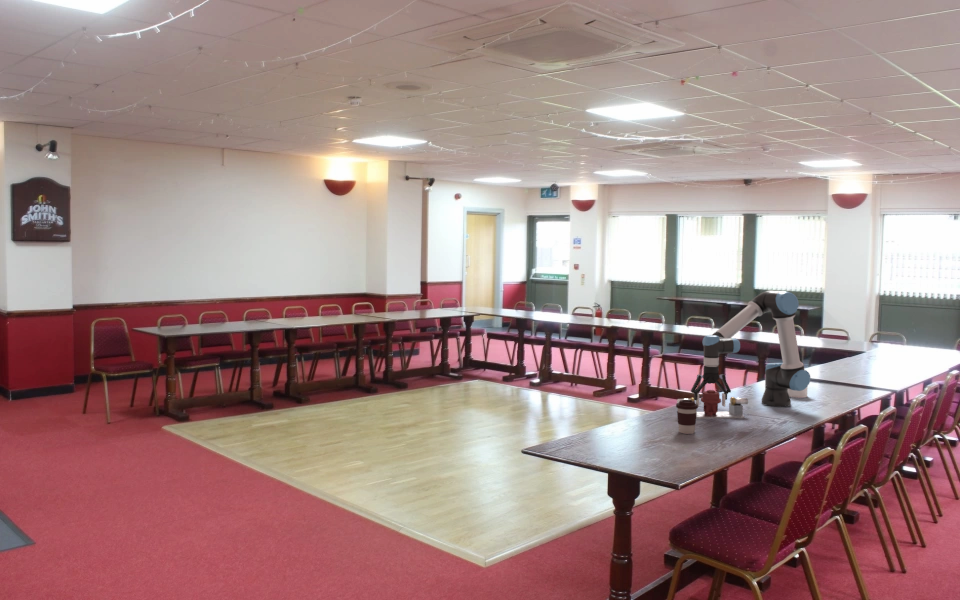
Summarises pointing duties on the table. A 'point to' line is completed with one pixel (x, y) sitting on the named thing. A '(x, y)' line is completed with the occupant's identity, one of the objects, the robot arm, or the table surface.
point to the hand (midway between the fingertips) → (710, 406)
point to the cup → (797, 393)
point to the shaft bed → (733, 412)
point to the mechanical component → (710, 402)
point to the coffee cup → (686, 416)
